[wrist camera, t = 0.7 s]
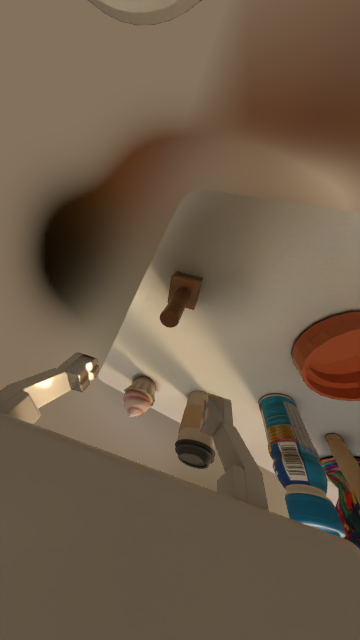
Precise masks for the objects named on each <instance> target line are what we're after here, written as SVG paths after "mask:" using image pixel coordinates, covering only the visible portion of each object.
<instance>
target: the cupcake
mask: <svg viewBox="0 0 360 640" xmlns="http://www.w3.org/2000/svg"><path fill="white" fill-rule="evenodd" d="M124 391H125V394H124V397H123V399H124V407H125V408H126V410H127V412H128V413H129V416H130V417H136V416H138V415H140V414H141V413H144V412H145V411H147V410H148V409H149V407H150V406H153V405H154V402H155V397H154V394H155V384H154V382H153V381H152V380H150V379H149V378H146V377H139V378H137V379H136V380H135V381H134V383H133V384H132V385H131V386H129V387H128V388H126V389H125V390H124Z"/></svg>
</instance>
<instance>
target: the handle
mask: <svg viewBox="0 0 360 640" xmlns="http://www.w3.org/2000/svg"><path fill="white" fill-rule="evenodd" d="M325 438H326V441H327V442H329V443H328V445H329V447H330V450H331V452H332V454H333V456H334V459H335V460H336V463H337V464H338V466H339V468H340V470H341V472H342V473H343V475H344V477H345V479H346V481H347V482H348V484H349V486H350V488H351V490H352V491H353V493H354V495H355V497H356V499H357V500H358V502H359V504H360V466H359V465H358V463H357V461H356V460H355V458H354V457H353V455H352V453H351V452H350V450H349V449H348V447H347V446H346V445H345V443H344V442H343V440H342V439H341V437H340V436H338V435H337V434H328V435H327V436H326V437H325ZM359 514H360V511H359Z"/></svg>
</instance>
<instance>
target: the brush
mask: <svg viewBox="0 0 360 640" xmlns="http://www.w3.org/2000/svg"><path fill="white" fill-rule="evenodd" d="M202 280H203V278H201V277H197V276H193V275H189V274H185V273H181V272H176V273H175V274H174V275H173V276H172V278H171V284H170V291H169V297H168V305H167V306H166V307H165V309H164V310H163V312H162V313H161V315H160V320H161V322H162V324H163V325H165V326H166V327H175V326H176V325H177V324H178V323H179V320H180V318H181V316H182V313H183V311H184V309H185V308H189V309H192V310H194V309H195V305H196V302H197V298H198V295H199V291H200V287H201V284H202Z"/></svg>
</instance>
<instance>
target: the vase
mask: <svg viewBox="0 0 360 640" xmlns="http://www.w3.org/2000/svg"><path fill="white" fill-rule="evenodd" d="M355 460H356V461H357V463H358V465H359V466H360V459H359V458H355ZM319 464H320V465H321V466H322V467H323V469H324V470H325V473H326V477H327V480H329V481H330V482H332V483H333V484H334V485H335V486H336V487H337V488H338V489H339V498H338V501H337V504H336V507H335V509H336V511H337V513H338V515H339V518H340V520H341V523H342V525H343V527H344V531H345V537H344V539H346V540H348V541H350V542H352V543H353V544H354V545H356V546H357V547H358V548H359V549H360V514H359V511H360V504H359V502H358V500H357V499H356V497H355V495H354V493H353V491H352V490H351V488H350V486H349V484H348V482H347V481H346V479H345V477H344V475H343V473H342V472H341V470H340V468H339V466H338V464H337V463H336V460H335V459H334V458H327V459H323V460H321V461H319Z"/></svg>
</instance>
